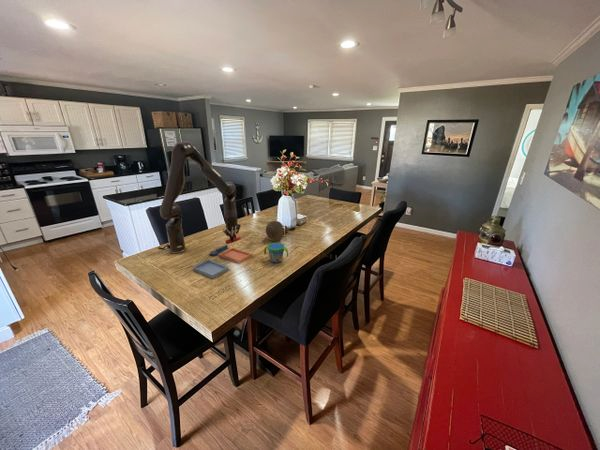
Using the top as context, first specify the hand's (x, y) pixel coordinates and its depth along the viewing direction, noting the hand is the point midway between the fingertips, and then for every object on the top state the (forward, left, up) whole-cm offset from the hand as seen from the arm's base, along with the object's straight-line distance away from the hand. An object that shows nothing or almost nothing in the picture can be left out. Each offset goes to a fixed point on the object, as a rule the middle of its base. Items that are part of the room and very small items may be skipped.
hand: (233, 240), depth 153 cm
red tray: (+1, 0, -11) cm, 11 cm away
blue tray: (+1, -20, -11) cm, 23 cm away
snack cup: (+26, +10, -11) cm, 30 cm away
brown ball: (+6, +35, -11) cm, 37 cm away
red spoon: (+1, 0, 0) cm, 1 cm away
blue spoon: (-14, -2, -11) cm, 18 cm away
